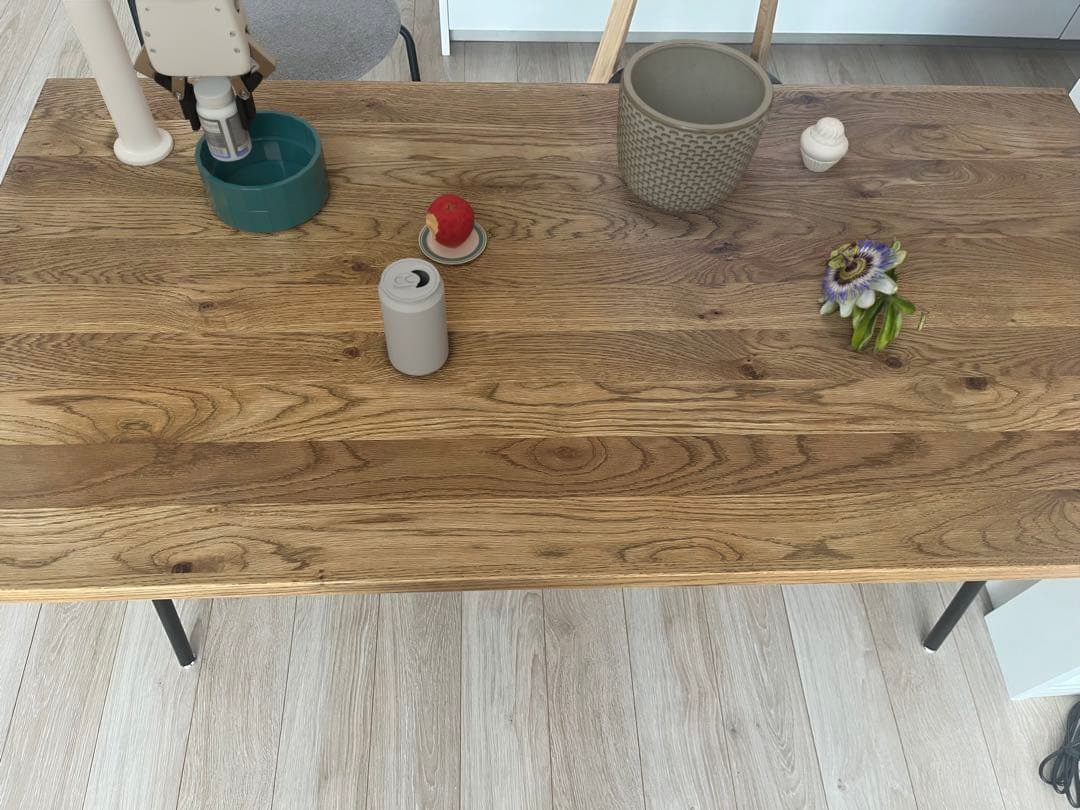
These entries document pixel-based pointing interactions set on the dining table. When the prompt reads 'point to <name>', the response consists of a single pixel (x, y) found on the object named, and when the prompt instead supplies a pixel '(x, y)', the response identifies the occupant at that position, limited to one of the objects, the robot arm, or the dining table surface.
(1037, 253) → the dining table surface
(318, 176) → the teal pet bowl
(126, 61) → the candle
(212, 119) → the pill bottle
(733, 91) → the planter
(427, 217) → the apple
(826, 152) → the muffin
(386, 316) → the beverage can
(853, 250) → the passion flower
